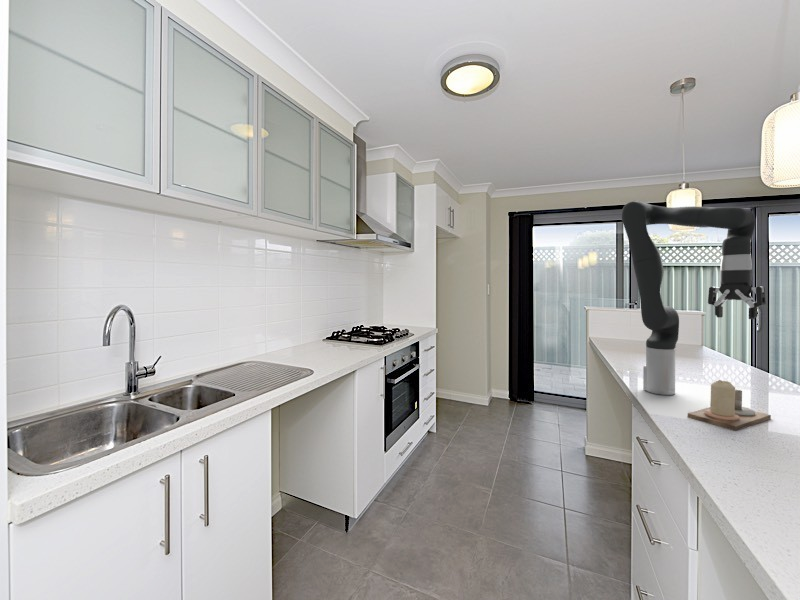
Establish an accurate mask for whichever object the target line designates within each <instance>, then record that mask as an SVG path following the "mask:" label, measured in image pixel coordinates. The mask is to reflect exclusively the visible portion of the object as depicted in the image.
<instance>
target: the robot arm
mask: <svg viewBox="0 0 800 600" xmlns="http://www.w3.org/2000/svg"><path fill="white" fill-rule="evenodd" d="M620 215H621V216H620V217H621V222H622V224H623V226H624V231H625V232H626V233H625V234H626V236H627V239H628V245H629V249H630V253H631V259H632V265H633V270H634V273H635V279H636V283H637V289H638V293H639V300H640V301H639V302H640V312H641V313H640V314H641V320H642V323H643V325H644V326H645V327H646V328H647V329H648V330H651V334H650V336H649V337H648V338H646V342H645V365H643V368H642V369H643V370H642V371H643V375H642V376H643V378H642V379H643V381H642V384H643V385H642V386H643V390H644V391H646V392H649V393H652V394H655V395H661V396H662V395H663V396H672V395H675V394H676V354H677V353H676V351H677V350H676V347H677V346H676V344H677V342H678V340H679V335H680V334H679V332H680V330H679V329H680V317H679V314H678V311H677V310H676V309H675V308H673V307H671V306H670V305H664V303H663V301H662V296H661V295H662V294H661V288H662V282H663V279H664V278H663V277H664V266H663V261H662V257H661V253H660V251H659V249H658V247H657V246H656V245H655V242H654V241H653V239H652V238H651V237H650V234H649V232H648V228H647V227H648V226H649V225H650V226H651V225H673V226H681V227H688V228H689V227H691V228H716V229H725V230H727V233H726V238H725V239H723V241H722V243H721V244H722V246H721V261H720V269H719V270H720V286H719V287H716V286H710V287H709V289H708V296H707V298H708V299H707V304H708V305H711V306H714V315H715V316H716V318H719V319H720V318H723V316H724V310H723V309H724V306H723V305H724V304H725V303H726V302H727V301H735V300H736V301H743V302H744V303H746V304H747V305H748V306H749V307H748V319H749V320H755V319H756V318H757V317H758V308H759V307H762V306H766V305H767V304H766V287H764V286H756V287H753V285H752V281H753V280H752V278H753V277H752V275H753V274H752V273H753V269H752V266H753V265H752V264H753V261H752V237H753V235H754V230H755V225H756V217H755V213H754V212H753V211H752V210H751V209H748V208H746V207H745V208H744V207H739V206H720V207H714V206H713V207H711V206H678V207H676V206H675V207H667V206H659V205H654V204H650V203H648V202H642V201H636V200H633V201H632V200H631V201H629V202H628V203H627V202H626V204H625V205H624V206H623V208H622V209H621V214H620ZM719 292H720V294H721V295H720V296H719V297H718V298H717V294H718V293H719ZM751 293H754V294H755V297H756V300H754V298H753V297H752V296H751Z"/></svg>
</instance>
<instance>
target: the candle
mask: <svg viewBox="0 0 800 600" xmlns="http://www.w3.org/2000/svg"><path fill="white" fill-rule="evenodd" d="M735 389H736V387H735V386H734V385H733V384H732V382H730V381H728V380H721V379H717V380H716V381H715V382H712V383H711V384H710V404H709V407H710V411H711V413H713V414H716V415H720V416H728V417H732V416H734V409H735Z"/></svg>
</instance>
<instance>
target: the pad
mask: <svg viewBox="0 0 800 600" xmlns="http://www.w3.org/2000/svg"><path fill="white" fill-rule="evenodd" d="M705 415H707V416H709V417H711V418H715V419H719V420H725V421H738V420H739V415H737V414H735V413H734V416H732V417H728V416H720V415H716V414H713V413H711V411H710V409H707V410H705Z"/></svg>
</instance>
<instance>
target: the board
mask: <svg viewBox="0 0 800 600" xmlns="http://www.w3.org/2000/svg"><path fill="white" fill-rule="evenodd" d="M707 409H710V406H709V407H706V408H702V409H698V410H694V411H691V412H688V413H687V418H690V419H694V420H696V421H697V420H698V421H701V422H704V423H707V424H711V425H715V426H718V427H721V428H725V429H728V430H732V431H737V430H741V429H744V428H747V427H750V426H753V425H756V424H759V423H763V422H765V421H768V420H771V419H772V417H771V416H772V415H771V414H768V413H764V412H759V411H756V410H754V409H752V408H749V407H744V406H743V390H742V389H736V388H735V409H734V413H735V414H737V415H739V420H738V421H725V420H719V419H715V418H711V417H709V416H707V415H705V410H707Z"/></svg>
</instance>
